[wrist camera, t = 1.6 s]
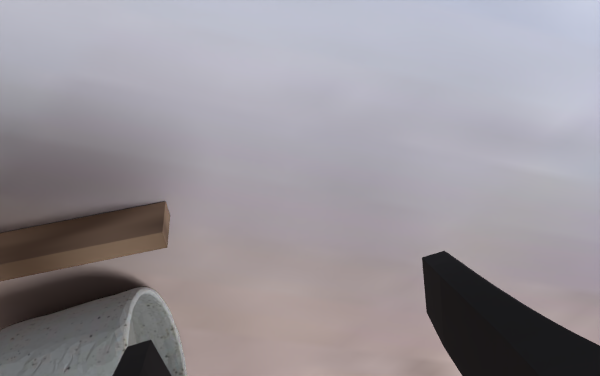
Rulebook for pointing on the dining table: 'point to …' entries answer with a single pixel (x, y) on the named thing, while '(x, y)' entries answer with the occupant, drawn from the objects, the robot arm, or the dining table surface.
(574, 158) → the dining table surface
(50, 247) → the walnut cradle
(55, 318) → the ceramic mug
